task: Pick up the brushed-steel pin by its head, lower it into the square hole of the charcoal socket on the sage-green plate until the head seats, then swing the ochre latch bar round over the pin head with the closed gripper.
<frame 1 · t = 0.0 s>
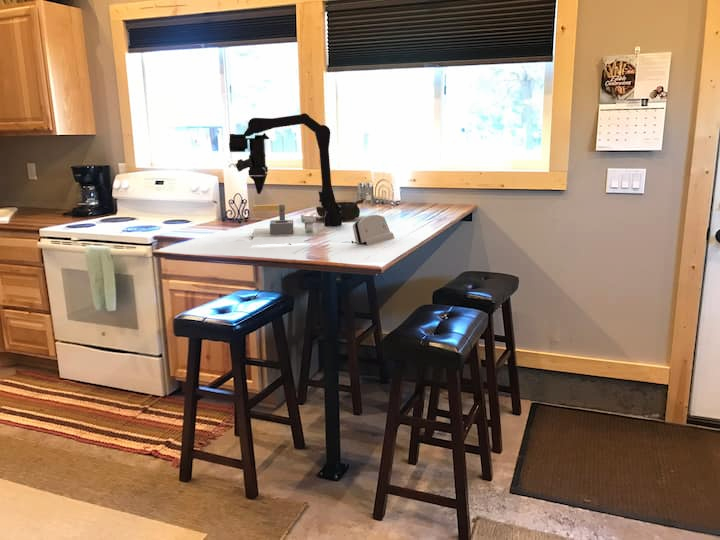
hand: (259, 192, 232), 15 cm above the counter, tool pointing down, fingers open, 9 cm apart
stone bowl: (337, 219, 261), on the counter
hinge: (372, 241, 210), on the counter
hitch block: (285, 234, 225), on the counter
latch bar: (269, 207, 229), point 9 cm above the counter, hinge at 0.0°
pin: (309, 231, 223), point 1 cm above the counter, touching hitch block
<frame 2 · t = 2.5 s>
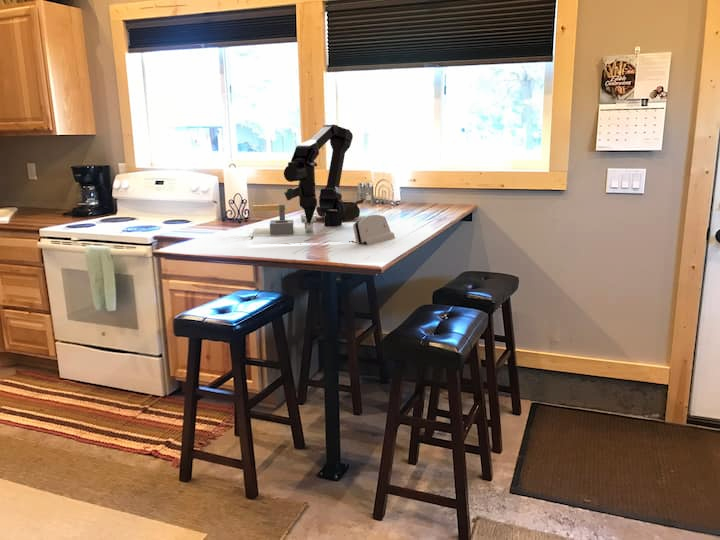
hand: (308, 221, 222), 5 cm above the counter, tool pointing down, fingers closed on pin, 5 cm apart
pin: (309, 231, 223), point 1 cm above the counter, touching gripper, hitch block
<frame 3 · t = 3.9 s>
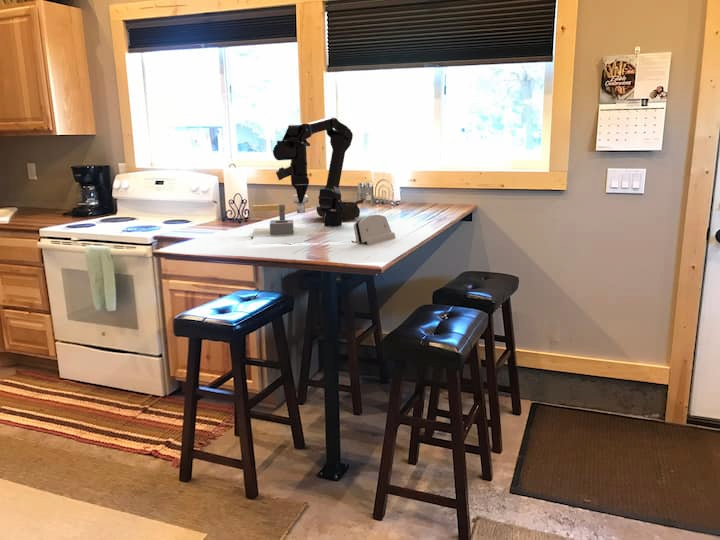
hand: (300, 202, 220), 12 cm above the counter, tool pointing down, fingers closed on pin, 5 cm apart
pin: (300, 212, 221), point 8 cm above the counter, touching gripper
everything else where it was.
when the fingers open (6 cm above the counter, at t = 6.2 s): pin stays where it is, resting on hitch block.
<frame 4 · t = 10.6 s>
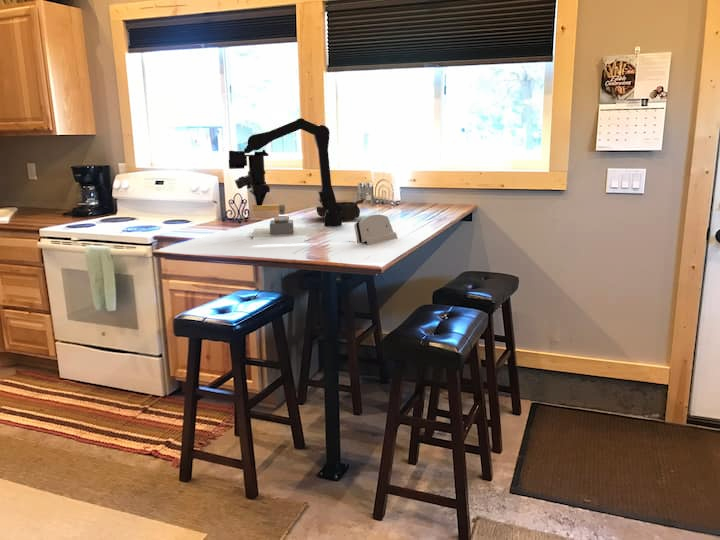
hand: (259, 209, 231), 9 cm above the counter, tool pointing down, fingers closed
latch bar: (269, 207, 229), point 9 cm above the counter, hinge at 0.3°, touching gripper
pin: (282, 232, 223), point 1 cm above the counter, touching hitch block
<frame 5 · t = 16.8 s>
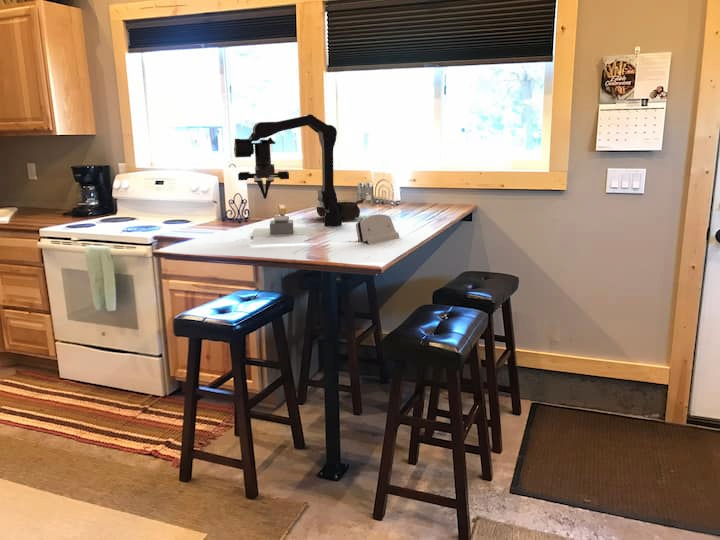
hand: (265, 198, 226), 13 cm above the counter, tool pointing down, fingers closed
latch bar: (282, 209, 225), point 9 cm above the counter, hinge at 94.4°
at the end: pin 0.0 cm from the target spot, point 1.1 cm above the counter; pin tilted 0°; latch bar at +94° (first picture: +0°) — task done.
